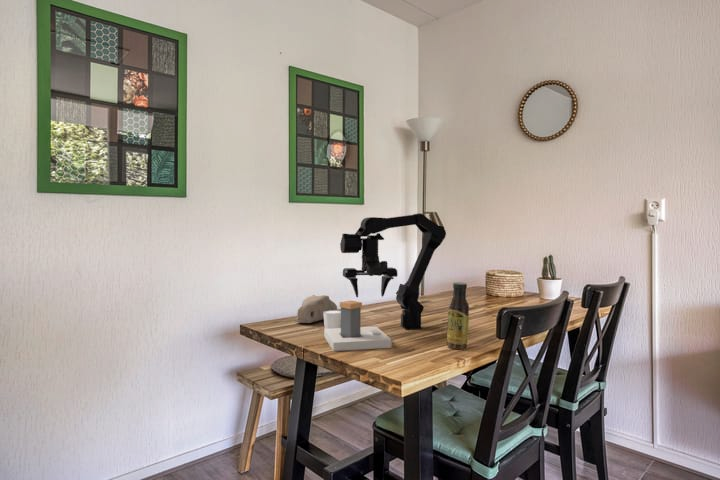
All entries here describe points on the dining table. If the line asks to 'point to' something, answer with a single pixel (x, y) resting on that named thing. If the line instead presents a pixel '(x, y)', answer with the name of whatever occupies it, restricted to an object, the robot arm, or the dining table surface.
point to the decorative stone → (314, 309)
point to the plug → (350, 319)
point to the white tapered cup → (332, 319)
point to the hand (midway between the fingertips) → (369, 296)
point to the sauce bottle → (458, 318)
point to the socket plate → (358, 339)
